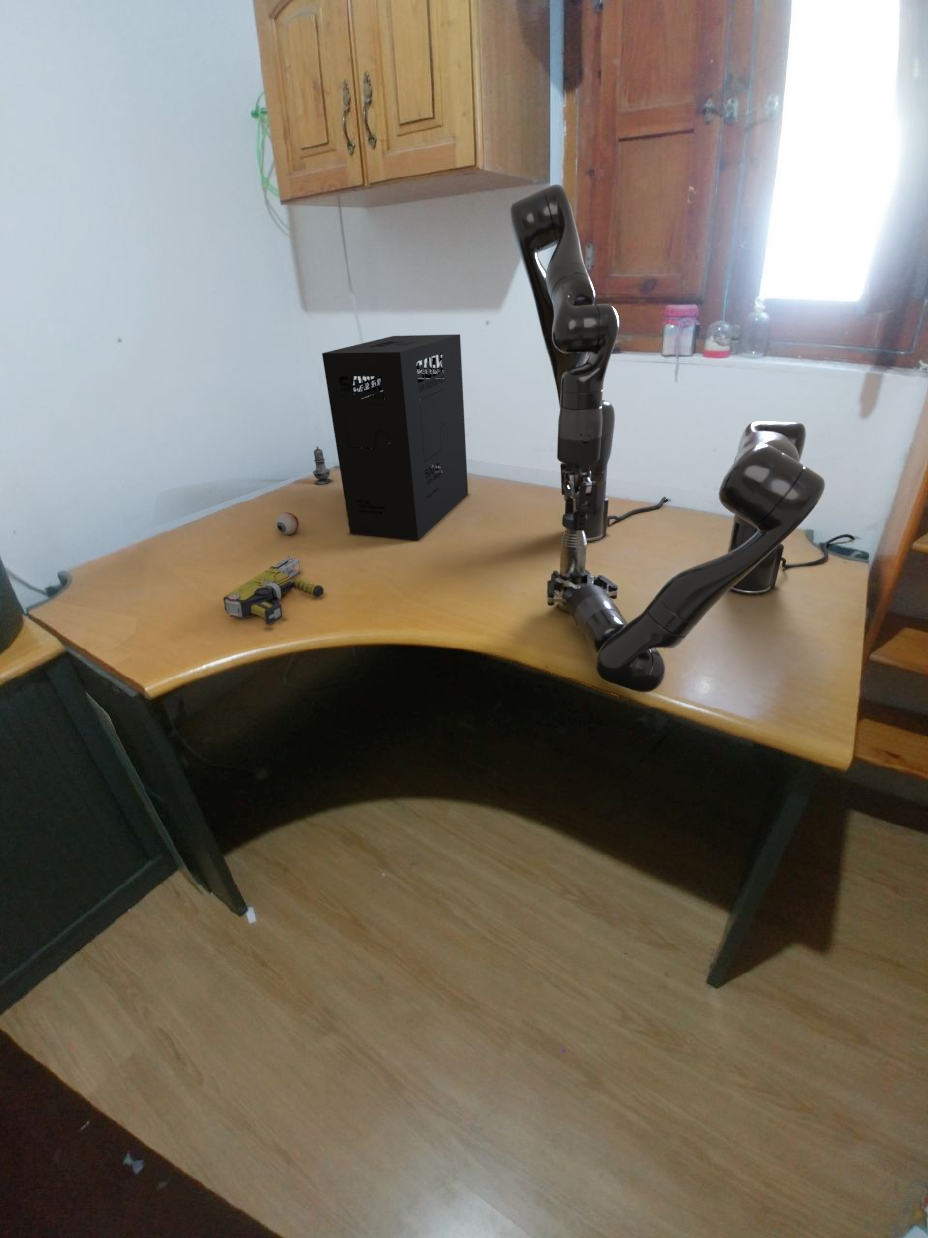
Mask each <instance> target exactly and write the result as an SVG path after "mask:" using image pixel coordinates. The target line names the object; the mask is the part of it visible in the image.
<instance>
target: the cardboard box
mask: <svg viewBox="0 0 928 1238" xmlns="http://www.w3.org/2000/svg"><path fill="white" fill-rule="evenodd" d="M321 356H322V362H323V363H322V364H323V368H324V369H323V370H324V376H325V381H326V382H325V383H326V388H327V395H328V403H329V407H330V413H331V420H332V426H333V433H334V440H335V445H336V452H337V459H338V464H339V466H338V467H339V472H340V477H341V486H342V491H343V497H344V504H345V511H346V517H347V522H348V523H347V524H348V529H349V534H352V535H363V536H371V537H381V538H391V539H401V540H411V541H419V540H420V539H421V538H423V537H424V536H425V535H426V534H427V533H428V532H429V531H430V530H432V528H433V527H434V526H435V525H436V524H438V522H440V520H442V519H443V518H444V517H445V516H446V515H448V513H450V512H451V511H452V510H453V509H454V508H455V507H456V506H457V505H458V504H459V503H461V501H462V500H464V498H466V497H467V496H468V495H469V486H468V465H467V464H468V463H467V444H466V425H465V406H464V405H465V403H464V385H463V364H462V344H461V334H459V333H458V334H415V335H414V334H413V335H411V334H410V335H392V336H387V337H383V338H379V339H376V340H370V341H366V342H362V343H358V344H354V345H350V346H345V347H341V348H338V349H333V350H330V351H325V352H322V353H321ZM425 360H426V363H425ZM437 360H438V363H439V366H438V363H437ZM420 362H421V364H420ZM430 364H431V365H430ZM355 377H356V378H355ZM368 377H369V379H368ZM372 377H373V378H372ZM359 378H360V380H359ZM364 378H365V379H364Z"/></svg>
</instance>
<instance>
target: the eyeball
mask: <svg viewBox="0 0 928 1238" xmlns="http://www.w3.org/2000/svg"><path fill="white" fill-rule="evenodd" d="M299 525H300V522H299V519H298V517H297V516H296V515H295V514H294V513H292V512H287V511H286V512H282V513H280V514H279V515H278V516H277V517H276V520H275V527H276V529H277V530H278V531H279V532H280V533H281V534H282V535H285V536H286V535H287V536H289V535H293V534H295V533H296V532H297V531H298V529H299Z"/></svg>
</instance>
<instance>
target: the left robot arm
mask: <svg viewBox="0 0 928 1238" xmlns="http://www.w3.org/2000/svg"><path fill="white" fill-rule="evenodd" d="M509 220H510V226H511V229H512V234H513V236H514V240H515V243H516V247H517V250H518V253H519V255H520V259H521V261H522V265H523V269H524V271H525V274H526V277H527V280H528V283H529V287H530V290H531V293H532V297H533V300H534V304H535V308H536V313H537V317H538V320H539V321H538V322H539V326H540V330H541V334H542V337H543V338H542V339H543V342H544V346H545V349H546V352H547V355H548V358H549V362H550V366H551V370H552V375H553V378H554V379H553V380H554V383H555V389H556V392H557V399H558V405H559V412H558V413H559V414H558V420H557V423H558V424H557V447H556V458H557V460H558V462H560V465H559V467H560V487H561V488H560V490H561V491H560V492H561V495H562V496H563V500H564V502H565V506H564V514H565V513H568V512H573V529H574V530H575V531H580V530H583V531H584V533H585V536H586V539H587V540H586V541H587V542H594V541H599V540H600V539H602V538H604V536H607V530H608V529H607V528H608V527H610V521H611V520H615V521H622V520H624V519H626V518H628V517H629V516H631V515H633V514H636V513H640V512H647V511H652V510H656V509H658V508H660V507H661V506H662V505H663V504H664V502H669V498H667V499H666V498H665V497H666V496H663V497H662V498H661V499H660V501H659V502H658V503H657V504H654V505H651V506H644V507H639V508H635V509H632V510H630V511H627V512H626V513H624V514H623V515H620V516H617V515H608V514H609V498H607V497H606V493H607V477H608V465H609V460H610V458H611V456H612V455H611V454H612V451H613V449H612V448H613V439H614V432H615V424H616V423H615V422H616V413H615V408H614V406H613V404H612V403H611V402H610V401H608V400H605V399H603V395H604V383H605V378H606V374H607V370H608V366H609V363H610V360H611V357H612V354H613V351H614V348H615V344H616V342H617V339H618V335H619V330H620V319H619V315H618V312H617V310H616V309H615V306H612V305H611V304H610V303H595V300H596V291H595V288H594V285H593V282H592V280H591V278H590V275H589V272H588V269H587V267H586V265H585V261H584V258H583V252H582V247H581V241H580V236H579V235H580V234H579V232H578V231H579V230H578V227H577V223H576V218H575V215H574V210H573V206H572V202H571V200H570V198H569V195H568V193H567V191H566V189H565V188H564V187H563V186H562V185H560V184H552V185H548V186H546V187H545V188H544V187H543V189H539V190H537V191H534V192H532V193H530V194H529V195H526V196H524V197H522V198H520V199H517V200H515V201H514V202H513V203H512V204H511V205H510V207H509ZM552 247H553V248H554V247H555V248H554V250H553V253H552V255H551V257H550V259H549V261H548V265H547V268H545V266H544V265H543V264H542V262H541V260H540V259H539V255H538V254H539V253H541V252H543V251H546V250H548V249H550V248H552ZM588 353H590V354H589V356H588ZM587 356H588V358H587ZM665 499H666V500H665ZM586 515H587V518H588V521H587V526H586V527H585V522H586Z"/></svg>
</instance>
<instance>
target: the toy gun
mask: <svg viewBox="0 0 928 1238" xmlns="http://www.w3.org/2000/svg"><path fill="white" fill-rule="evenodd" d="M300 561H301V560H300V559H299V558H297V557H294V558H293V557H292V556H288V557H287V558H284V559H283V560H282V561H280V562H278V563H277V564H275V565H274V566H270V567H269V568H267V569H266V570H263V571H262V572H260V573H259V574H257V575H256V576H254V577H252V578H251V579H249V580H248V581H246V582H245V583H243V584H241V585H240V586H238V587H237V588H235V589H233V590H232V591H230V592H228V593H227V594H225V595H224V596H223V597H222V601H223V607H224V611H225V612H226V614H227V615H229V617H230V618H233V619H238V618H245V619H246V618H250V617H253V616H258V617H261V618H262V619H264V620H265V624H266V625H268V626H269V625H271V624H273V623H275V622H276V621H279V620H281V619H282V618H283V617H284V616H283V607H282V603H280V601H281V600H282V595H283V594H286V593H287V592H290V591H291V590H293V589H296V590H299V591H301V592H304V593H307V594H309V595H313V596H314V597H316V598H321V596H322V595H323V594H324V587H323V586H322V585H319V584H315V583H312V582H310V581H307V580H304V579H302V578H298V577H297V578H296V579H294V581H292V580H291V578H294V577H295V576H296V575H297V574H299V573H300V572H301V562H300ZM297 565H298V569H296V568H295V567H296V566H297Z"/></svg>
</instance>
